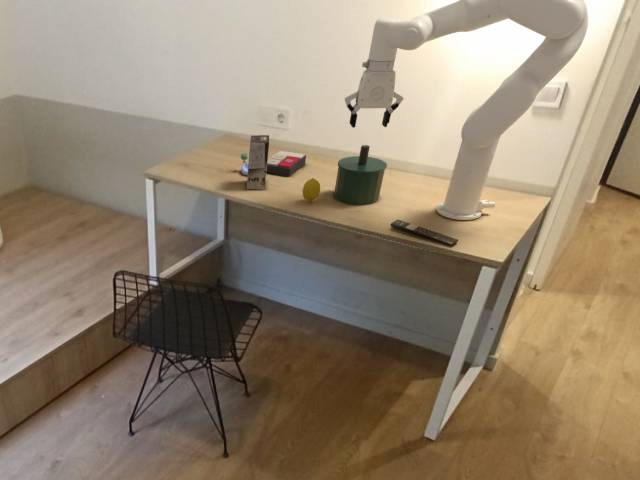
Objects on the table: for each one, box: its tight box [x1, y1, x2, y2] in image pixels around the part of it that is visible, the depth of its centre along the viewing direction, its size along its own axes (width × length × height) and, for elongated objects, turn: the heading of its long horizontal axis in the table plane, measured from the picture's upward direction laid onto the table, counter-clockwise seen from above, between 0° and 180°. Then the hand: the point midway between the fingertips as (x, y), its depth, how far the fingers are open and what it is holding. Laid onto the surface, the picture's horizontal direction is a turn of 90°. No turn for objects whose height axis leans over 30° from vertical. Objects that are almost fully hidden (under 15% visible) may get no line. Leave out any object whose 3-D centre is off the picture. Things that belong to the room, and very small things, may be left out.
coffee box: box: [246, 134, 270, 191], centre depth 215 cm, size 9×6×16 cm
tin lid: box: [337, 144, 388, 173], centre depth 199 cm, size 15×15×7 cm
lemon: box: [302, 177, 321, 203], centre depth 202 cm, size 6×6×8 cm
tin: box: [333, 166, 386, 206], centre depth 204 cm, size 14×14×10 cm
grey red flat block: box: [266, 150, 307, 177], centre depth 231 cm, size 11×4×15 cm
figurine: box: [240, 152, 249, 176], centre depth 228 cm, size 8×7×7 cm
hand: (368, 126), depth 193 cm, fingers open, 9 cm apart
